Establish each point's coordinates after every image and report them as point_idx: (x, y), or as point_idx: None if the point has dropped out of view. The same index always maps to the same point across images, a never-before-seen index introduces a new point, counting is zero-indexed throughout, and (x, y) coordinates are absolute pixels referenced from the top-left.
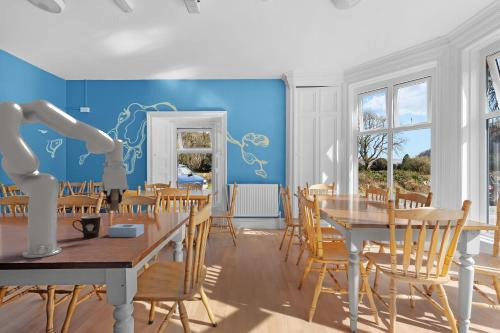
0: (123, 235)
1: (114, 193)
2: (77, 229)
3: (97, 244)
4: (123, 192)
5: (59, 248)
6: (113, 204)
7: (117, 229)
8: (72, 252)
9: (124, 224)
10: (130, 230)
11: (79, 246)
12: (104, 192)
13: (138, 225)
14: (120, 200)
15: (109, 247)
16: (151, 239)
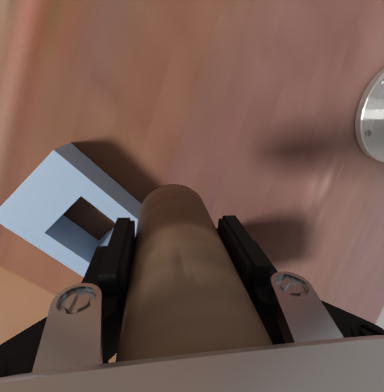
0: (117, 185)
1: (212, 281)
2: None
3: (241, 117)
4: (26, 340)
5: (371, 101)
6: (195, 207)
7: (135, 213)
8: (346, 51)
9: (85, 271)
10: (85, 168)
11: (294, 132)
12: (356, 321)
13: (26, 206)
14: (118, 230)
15: (229, 19)
16: (13, 26)
